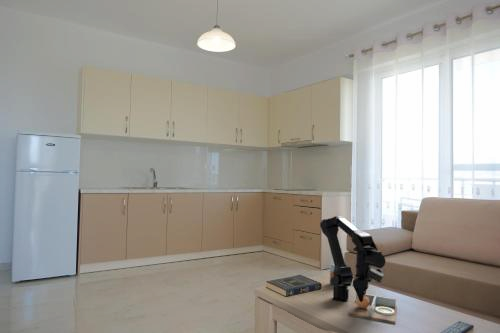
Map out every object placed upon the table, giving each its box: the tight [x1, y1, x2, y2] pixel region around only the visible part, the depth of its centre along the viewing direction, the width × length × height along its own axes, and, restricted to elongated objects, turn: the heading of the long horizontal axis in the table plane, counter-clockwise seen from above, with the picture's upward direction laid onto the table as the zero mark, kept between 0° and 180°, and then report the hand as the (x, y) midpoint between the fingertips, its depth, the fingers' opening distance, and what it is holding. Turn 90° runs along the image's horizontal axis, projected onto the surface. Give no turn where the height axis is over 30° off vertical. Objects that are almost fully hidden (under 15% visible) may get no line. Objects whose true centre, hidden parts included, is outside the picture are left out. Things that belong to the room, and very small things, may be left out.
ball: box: [355, 295, 370, 308], centre depth 150 cm, size 6×6×6 cm
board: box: [348, 292, 398, 325], centre depth 148 cm, size 18×18×4 cm
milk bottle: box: [329, 247, 342, 281], centre depth 187 cm, size 8×8×20 cm
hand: (362, 298), depth 150 cm, fingers open, 9 cm apart
